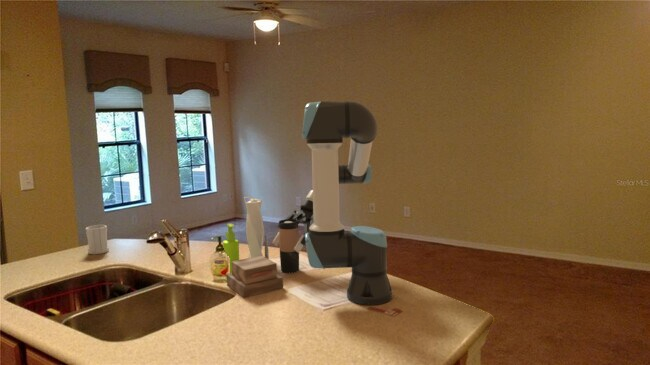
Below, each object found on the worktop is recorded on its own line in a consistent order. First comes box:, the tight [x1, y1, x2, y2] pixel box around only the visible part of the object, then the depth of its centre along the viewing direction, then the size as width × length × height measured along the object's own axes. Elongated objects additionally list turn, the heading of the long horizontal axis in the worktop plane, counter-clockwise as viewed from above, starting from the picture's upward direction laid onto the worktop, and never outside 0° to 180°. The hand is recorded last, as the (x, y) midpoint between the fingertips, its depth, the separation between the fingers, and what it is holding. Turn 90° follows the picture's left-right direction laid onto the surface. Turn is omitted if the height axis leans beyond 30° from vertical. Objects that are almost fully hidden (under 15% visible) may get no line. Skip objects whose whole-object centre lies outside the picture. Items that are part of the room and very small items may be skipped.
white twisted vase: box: [243, 196, 270, 260], centre depth 197 cm, size 8×8×28 cm
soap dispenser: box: [222, 222, 240, 274], centre depth 181 cm, size 6×7×20 cm
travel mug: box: [278, 218, 300, 274], centre depth 184 cm, size 8×8×20 cm
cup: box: [85, 224, 110, 255], centre depth 217 cm, size 10×9×12 cm
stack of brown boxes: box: [226, 255, 284, 299], centre depth 167 cm, size 15×15×9 cm
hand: (285, 247), depth 182 cm, fingers open, 13 cm apart
